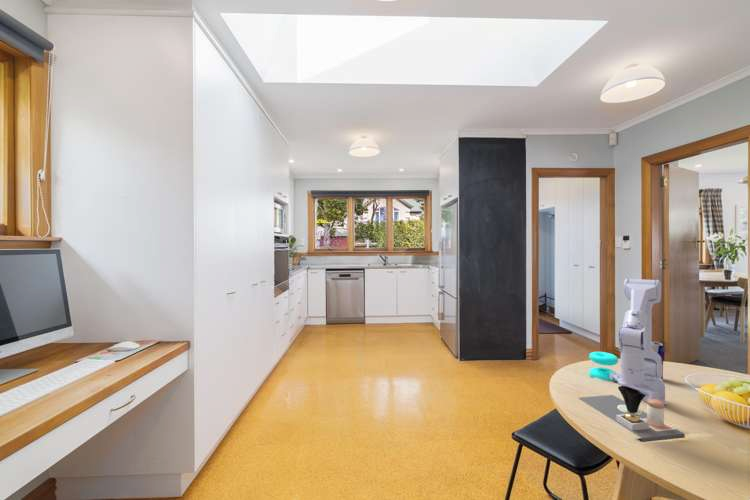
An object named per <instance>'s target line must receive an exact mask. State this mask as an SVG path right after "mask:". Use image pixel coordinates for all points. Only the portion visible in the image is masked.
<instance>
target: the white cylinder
mask: <svg viewBox="0 0 750 500" xmlns="http://www.w3.org/2000/svg"><path fill="white" fill-rule="evenodd" d="M646 413H647V422H648V423H649V425H651V426H654V427H658V428H663V427H664V423H665V405H664V402H662V401H660V400H658V399H650V398H649V399H647V402H646Z"/></svg>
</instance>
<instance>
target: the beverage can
mask: <svg viewBox="0 0 750 500" xmlns="http://www.w3.org/2000/svg"><path fill="white" fill-rule="evenodd" d="M651 349H652V350H653V351H655V352H656V353H657V354H659V355H660V356H661V362H662V376H661V379H662V380H663V379H664V344H663V343H661V342H658V341H651ZM649 359H650V358H649Z"/></svg>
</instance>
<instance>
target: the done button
mask: <svg viewBox="0 0 750 500" xmlns="http://www.w3.org/2000/svg"><path fill="white" fill-rule="evenodd" d="M625 419H626V420H628V421H629V422H631V423H640V416H639V415H638V414H635V413H630V412H625Z"/></svg>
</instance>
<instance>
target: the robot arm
mask: <svg viewBox="0 0 750 500" xmlns="http://www.w3.org/2000/svg"><path fill="white" fill-rule="evenodd" d="M623 294H624V295H625V296H626V298H627V300H628V301H630V307H629V308H630V309H628V310H627V311H625V313H624V317H623V320H622V321H623V323H622V327H621V328H619V329H618V331H617V341H618V346H619V347H618V350H619V352H620V374H619V373H617V372H615V373H610V379H611V380H615V381H614V382H618V383H617V384H618V385H620V386H618V389H617V390H618V391H619V392H620V394H621V396H622V398H623V401H625V404H626V407H627V411H628V412H630V413H637V411H638V409H640V405H641V403H642V402H645V403H647V399H649V398H650V399H658V400H660V401H662V402H664V406H665V405H668V402H667V401H666V384H665V382H664V380H663V379H661V376H662V362H661V356H660V355H659V354H657V353H656V352H655V351H653V350H652V349H651V342H652V332H653V331H652V330H653V329H652V328H653V327H652V325H653V324H652V323H653V321H652V318H653V317H652V316H653V315H652V314H653V313H652V310H653V306H654V304H659V303H661V300H662V282H661V280H659V279H645V278H644V279H640V278H629V277H627V278H625V279H624V281H623ZM649 358H650V359H649Z"/></svg>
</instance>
